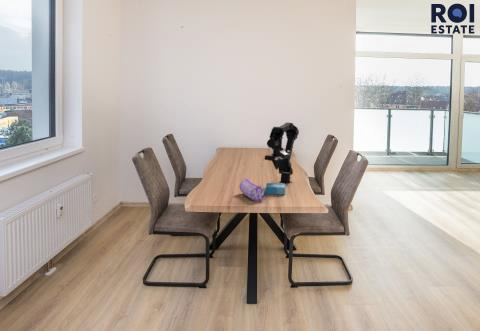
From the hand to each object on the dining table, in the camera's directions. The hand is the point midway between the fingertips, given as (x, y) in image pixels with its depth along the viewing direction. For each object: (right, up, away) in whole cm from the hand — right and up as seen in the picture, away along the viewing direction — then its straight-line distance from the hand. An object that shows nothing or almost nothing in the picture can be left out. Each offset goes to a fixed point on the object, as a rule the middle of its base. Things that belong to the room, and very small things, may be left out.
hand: (276, 169), depth 293 cm
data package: (-1, -11, -8) cm, 14 cm away
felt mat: (-8, -14, -12) cm, 20 cm away
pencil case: (-17, -17, -27) cm, 36 cm away
